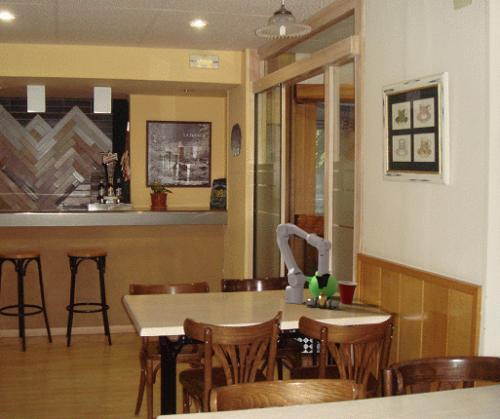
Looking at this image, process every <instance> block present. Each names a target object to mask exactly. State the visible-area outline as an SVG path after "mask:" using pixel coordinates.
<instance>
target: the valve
mask: <svg viewBox="0 0 500 419" xmlns="http://www.w3.org/2000/svg"><path fill="white" fill-rule="evenodd" d="M320 294H321V295H320V296H319V297H318V303H317V306H318V307H319V308H327V307H328V297H327V296H324V295H326V293H320Z"/></svg>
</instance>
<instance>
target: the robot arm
mask: <svg viewBox="0 0 500 419" xmlns="http://www.w3.org/2000/svg"><path fill="white" fill-rule="evenodd" d="M275 232H276V243H277V245H278V248H279V251H280V254H281V256H282V258H283V260H284V263H285V266H286V268H287V270H288V273H287V281H288V284H289V285H287V286H286V287H285V301H284V302H285V303H286V304H297V305H298V304H300V305H302V304H304V303H306V300H304V287H305V284H306V282H307V281H306V277H307V276H306V275H305V274H304V273H303V270H302V269H300V268H299V266H298V265H297V262H296V260H295V257H294V255H293V252H292V249H291V247H290V245H289V242H288V241H289V239H290V237H291V236H292V235H296V236H297V237H301V238H302V239H304V240H306V242H307V244H309V245H311V246H312V247H314V248H316V250H318V257H317V258H318V264H317V266H318V267H317V271H318V275H316V274H315V275H316V276H315V275H314V276H315V277H316V279H317V282H318V287H319V289H323V287H327V284H328V280H329V277H330V275H332V272H331V270H329V268H330V250H331V249H332V243H331V242H330V240H328V239H325V238H323V237H320V236H318V235H317V233H308V232H306V231H305V230H303V229H301V228H300V227H298V226H297V225H296V224H293V223H291V222H288V223H280V224H278V225H277V228H276V230H275Z"/></svg>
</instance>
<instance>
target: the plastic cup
mask: <svg viewBox="0 0 500 419" xmlns="http://www.w3.org/2000/svg"><path fill="white" fill-rule="evenodd" d="M337 283H338V290H339V297H340V303H341V304H342V305H352V304H353V300H354V297H355V291H356V287H357V286H358V283H357V282H354V281H348V280H338V281H337ZM351 303H352V304H351Z"/></svg>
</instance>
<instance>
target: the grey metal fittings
mask: <svg viewBox="0 0 500 419" xmlns="http://www.w3.org/2000/svg"><path fill="white" fill-rule="evenodd" d="M318 301H319V298H318V297H314V298H311V297H306V300H305V304H306V308H309V309H311V308H315V309H316V308H319V307H318ZM328 308H329V309H328ZM330 309H331V310H332V309H333V311H338V310H339V309H340V301H339V300H334V299H332V298H329V299H328V300H327V308H320V309H319V310H330ZM337 309H338V310H337Z"/></svg>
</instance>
